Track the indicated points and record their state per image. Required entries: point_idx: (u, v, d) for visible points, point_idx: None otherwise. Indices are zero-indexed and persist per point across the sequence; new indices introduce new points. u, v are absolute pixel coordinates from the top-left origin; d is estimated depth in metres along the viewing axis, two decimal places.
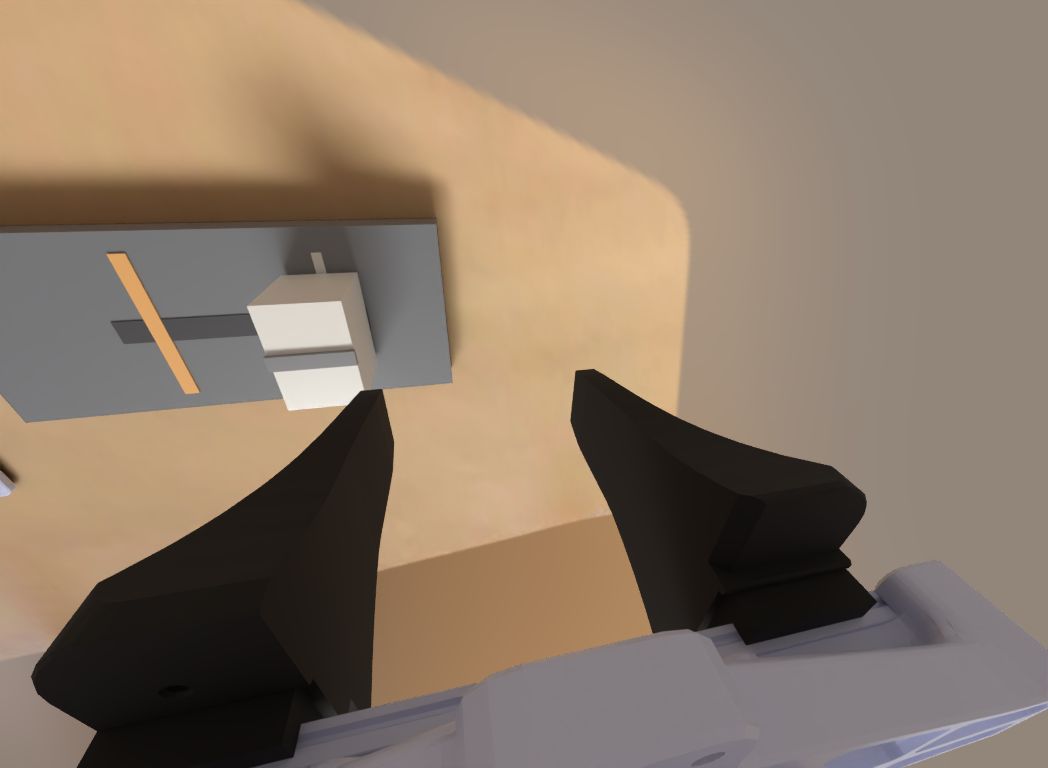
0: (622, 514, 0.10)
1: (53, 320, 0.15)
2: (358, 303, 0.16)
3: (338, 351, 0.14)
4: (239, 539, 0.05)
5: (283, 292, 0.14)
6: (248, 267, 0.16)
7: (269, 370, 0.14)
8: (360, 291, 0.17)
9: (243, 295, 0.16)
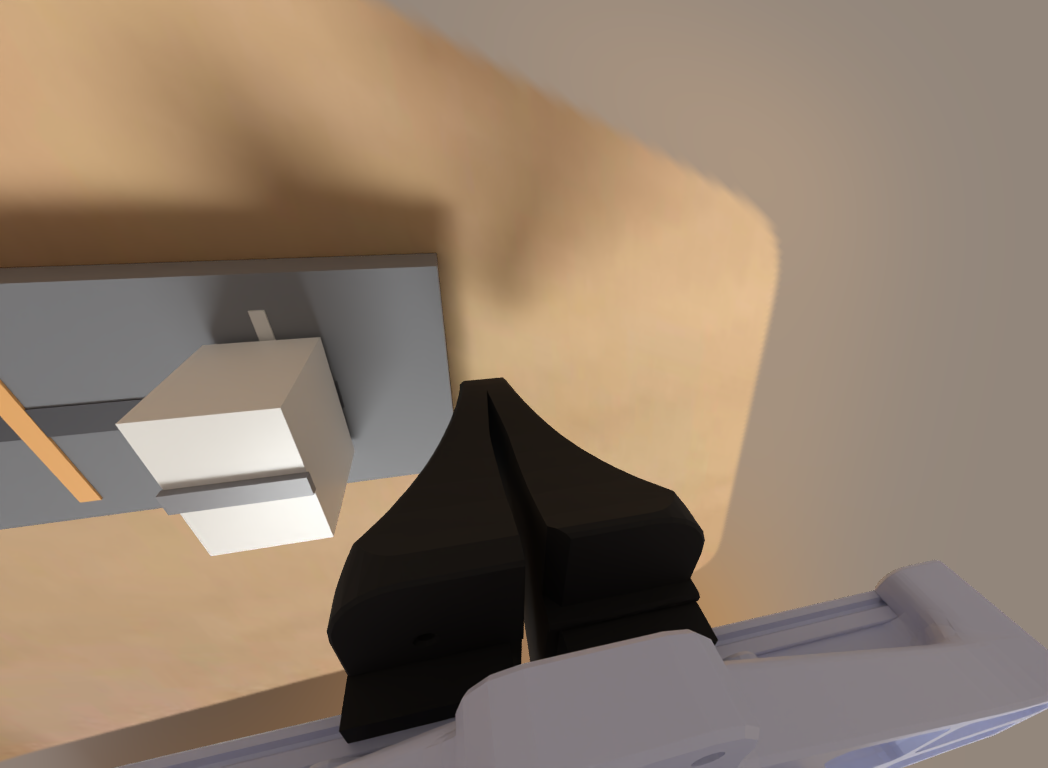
0: None
1: None
2: (320, 385, 0.11)
3: (283, 476, 0.09)
4: (450, 508, 0.06)
5: (192, 386, 0.09)
6: (152, 334, 0.10)
7: (169, 512, 0.09)
8: (325, 363, 0.11)
9: (149, 372, 0.11)
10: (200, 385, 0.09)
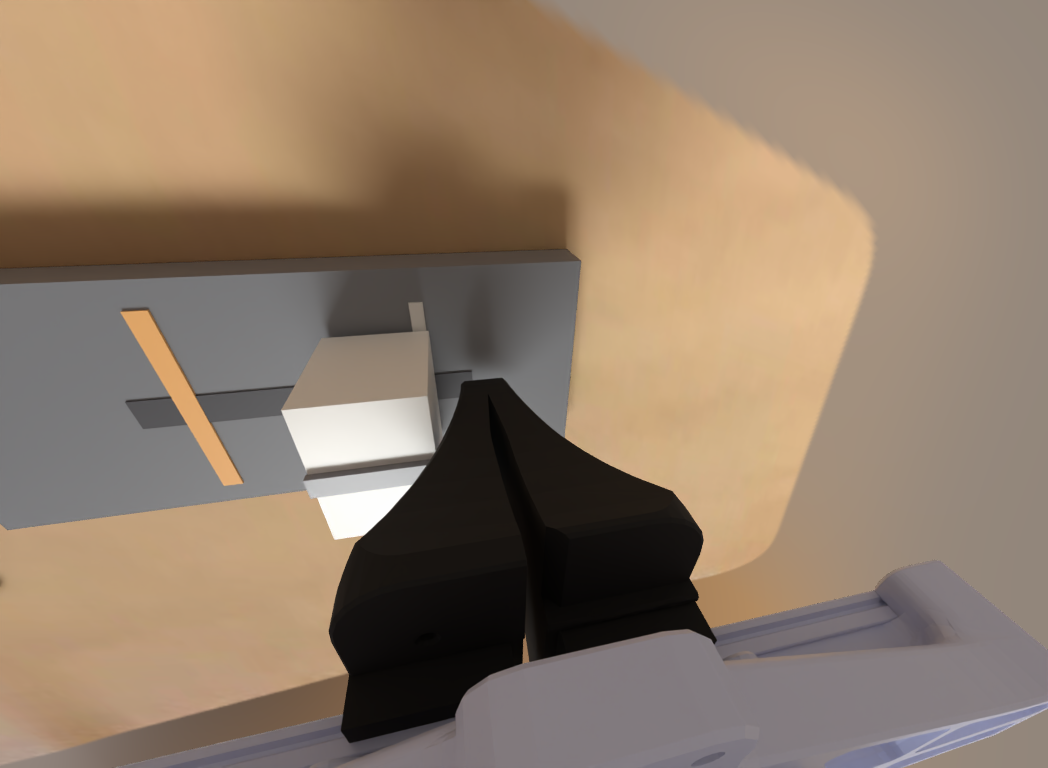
0: None
1: (43, 402, 0.11)
2: (432, 377, 0.11)
3: (415, 462, 0.09)
4: (451, 508, 0.06)
5: (333, 376, 0.09)
6: (321, 324, 0.11)
7: (311, 495, 0.09)
8: (431, 356, 0.12)
9: None
10: (340, 375, 0.09)
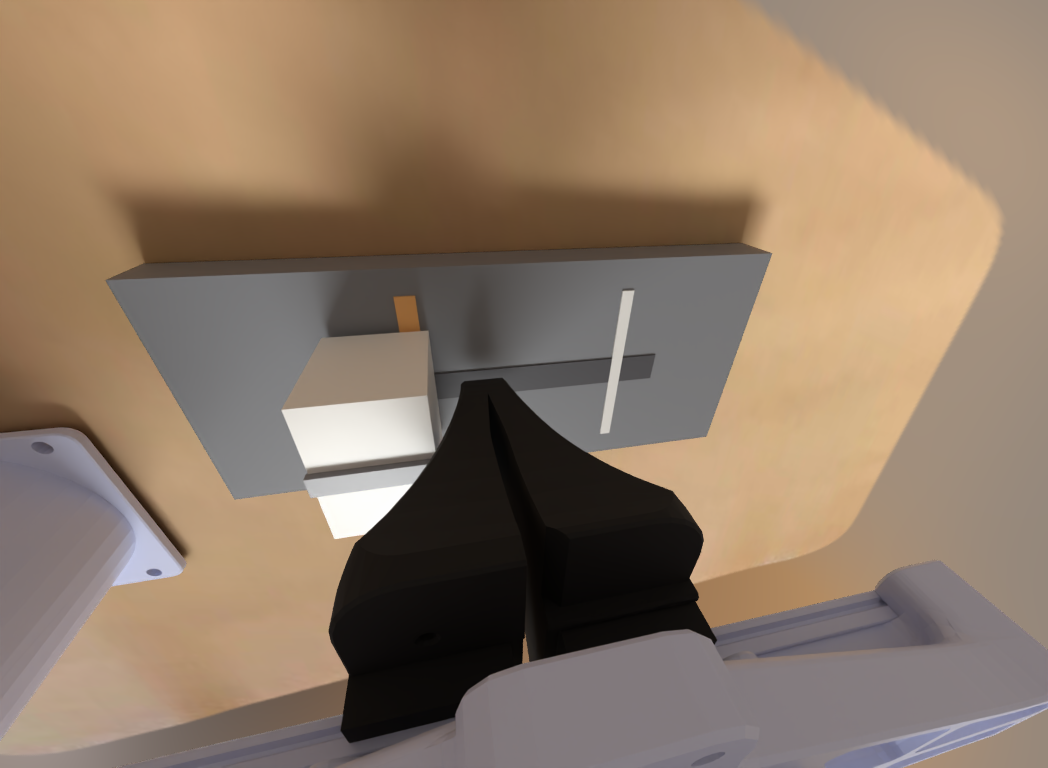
0: None
1: None
2: (432, 377, 0.11)
3: (415, 462, 0.09)
4: (451, 507, 0.06)
5: (333, 375, 0.09)
6: (546, 310, 0.12)
7: (311, 495, 0.09)
8: (431, 356, 0.12)
9: (527, 343, 0.13)
10: (340, 375, 0.09)
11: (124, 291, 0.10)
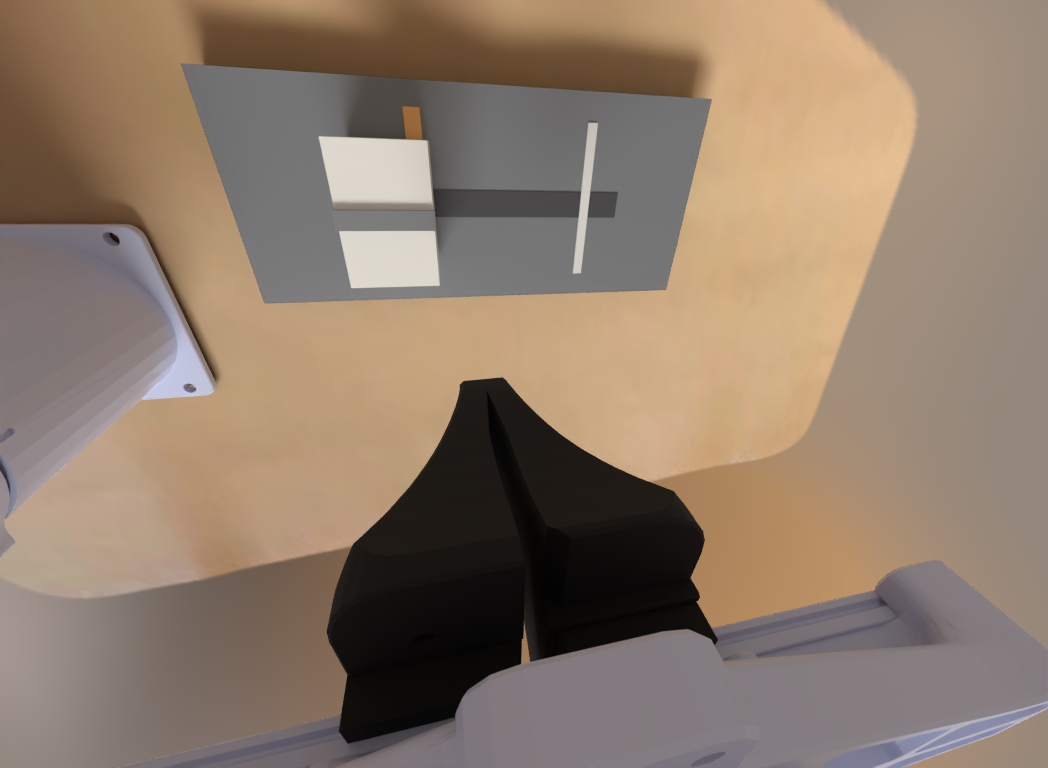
0: None
1: (327, 182, 0.15)
2: None
3: (416, 211, 0.12)
4: (450, 508, 0.06)
5: (354, 137, 0.12)
6: (525, 135, 0.15)
7: (336, 228, 0.12)
8: None
9: (510, 167, 0.15)
10: None
11: (194, 76, 0.12)
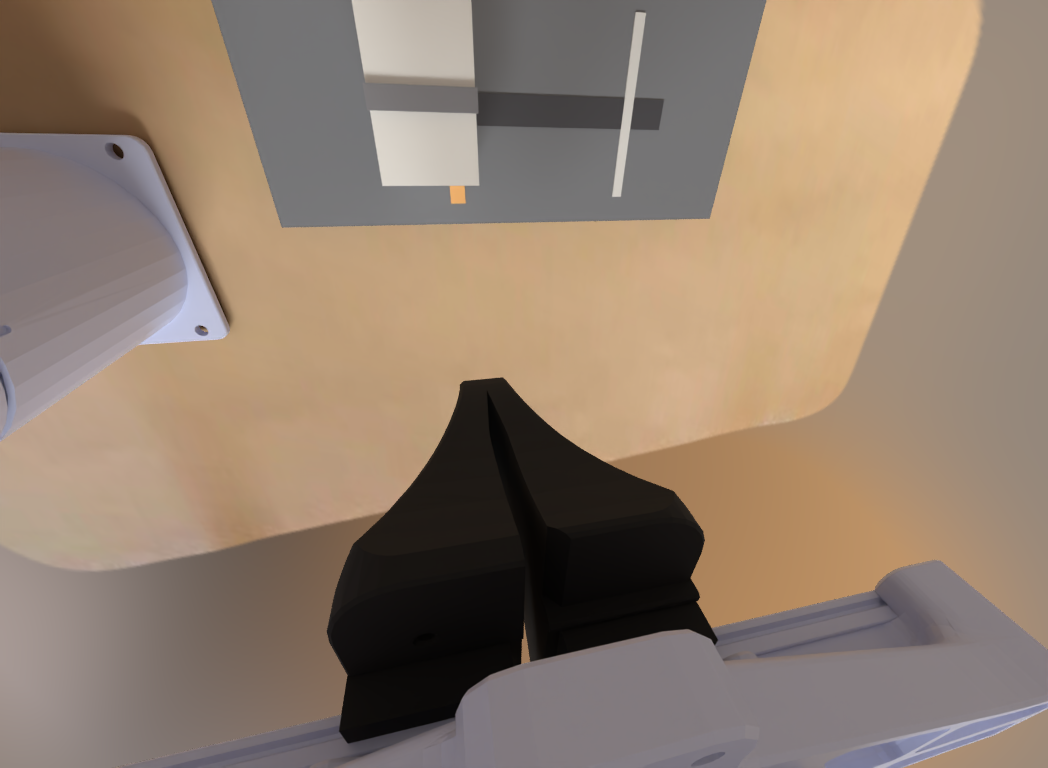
0: None
1: (350, 81, 0.13)
2: None
3: (456, 89, 0.11)
4: (450, 508, 0.06)
5: None
6: (567, 26, 0.14)
7: (368, 106, 0.10)
8: None
9: (549, 66, 0.14)
10: None
11: None
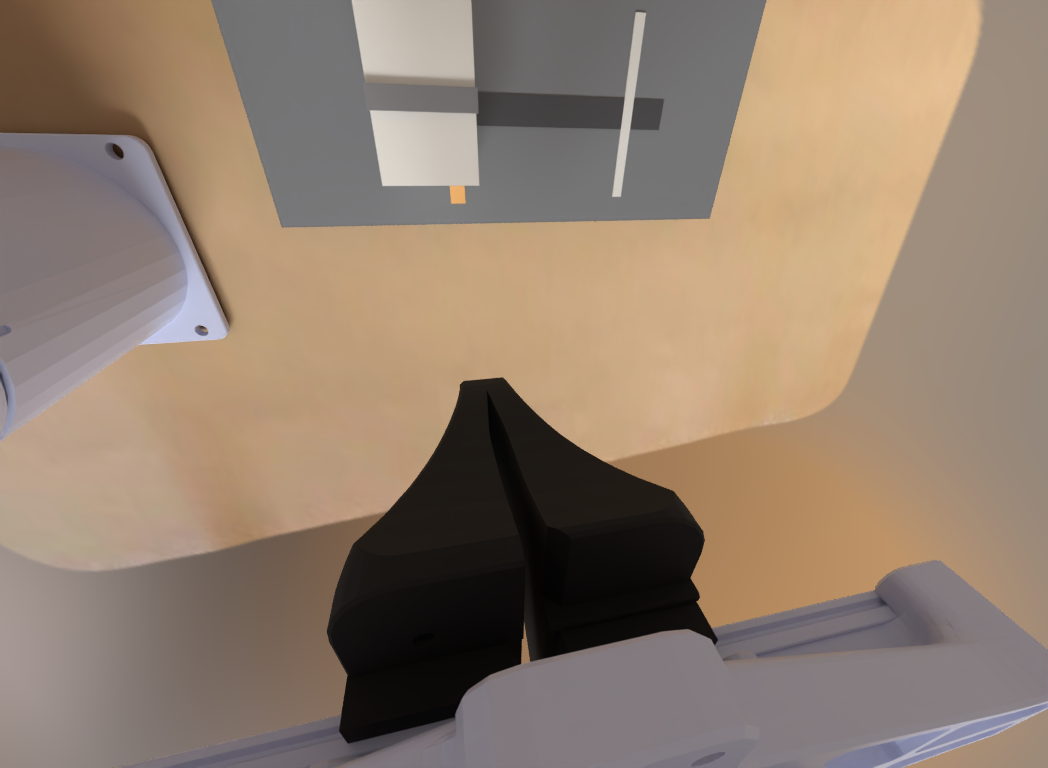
0: None
1: (350, 81, 0.13)
2: None
3: (456, 89, 0.11)
4: (450, 508, 0.06)
5: None
6: (567, 26, 0.14)
7: (368, 106, 0.10)
8: None
9: (549, 66, 0.14)
10: None
11: None
